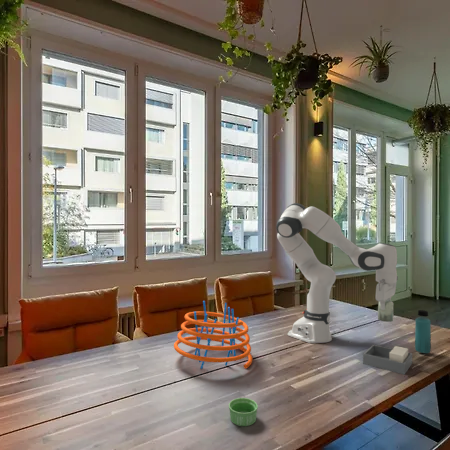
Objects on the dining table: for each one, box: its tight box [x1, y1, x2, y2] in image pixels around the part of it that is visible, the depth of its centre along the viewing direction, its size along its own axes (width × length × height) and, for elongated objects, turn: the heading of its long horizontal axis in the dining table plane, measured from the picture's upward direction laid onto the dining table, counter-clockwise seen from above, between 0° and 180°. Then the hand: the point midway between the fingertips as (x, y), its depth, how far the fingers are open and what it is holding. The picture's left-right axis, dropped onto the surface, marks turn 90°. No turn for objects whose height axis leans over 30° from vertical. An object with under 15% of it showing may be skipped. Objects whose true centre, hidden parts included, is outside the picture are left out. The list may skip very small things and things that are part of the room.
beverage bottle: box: [414, 309, 432, 354], centre depth 161 cm, size 6×7×20 cm
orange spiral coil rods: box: [173, 300, 253, 369], centre depth 153 cm, size 34×35×24 cm
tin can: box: [377, 300, 395, 323], centre depth 162 cm, size 6×6×8 cm
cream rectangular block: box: [389, 345, 409, 363], centre depth 145 cm, size 5×10×6 cm, turn 141°
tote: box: [362, 344, 413, 375], centre depth 148 cm, size 16×14×5 cm
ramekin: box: [228, 397, 259, 427], centre depth 108 cm, size 9×9×4 cm
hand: (385, 307), depth 162 cm, fingers closed on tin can, 6 cm apart
